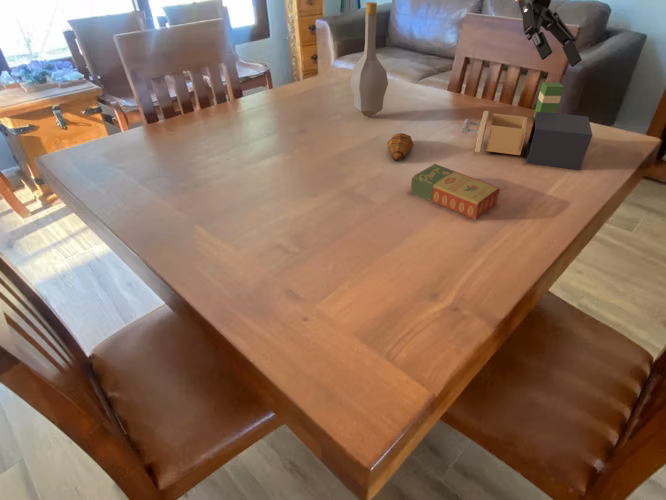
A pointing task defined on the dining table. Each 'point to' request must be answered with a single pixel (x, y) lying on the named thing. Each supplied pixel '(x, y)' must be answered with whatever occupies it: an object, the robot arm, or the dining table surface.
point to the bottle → (369, 71)
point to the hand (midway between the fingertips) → (562, 59)
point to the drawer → (500, 133)
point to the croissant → (399, 146)
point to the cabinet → (559, 140)
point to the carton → (455, 191)
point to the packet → (549, 97)
